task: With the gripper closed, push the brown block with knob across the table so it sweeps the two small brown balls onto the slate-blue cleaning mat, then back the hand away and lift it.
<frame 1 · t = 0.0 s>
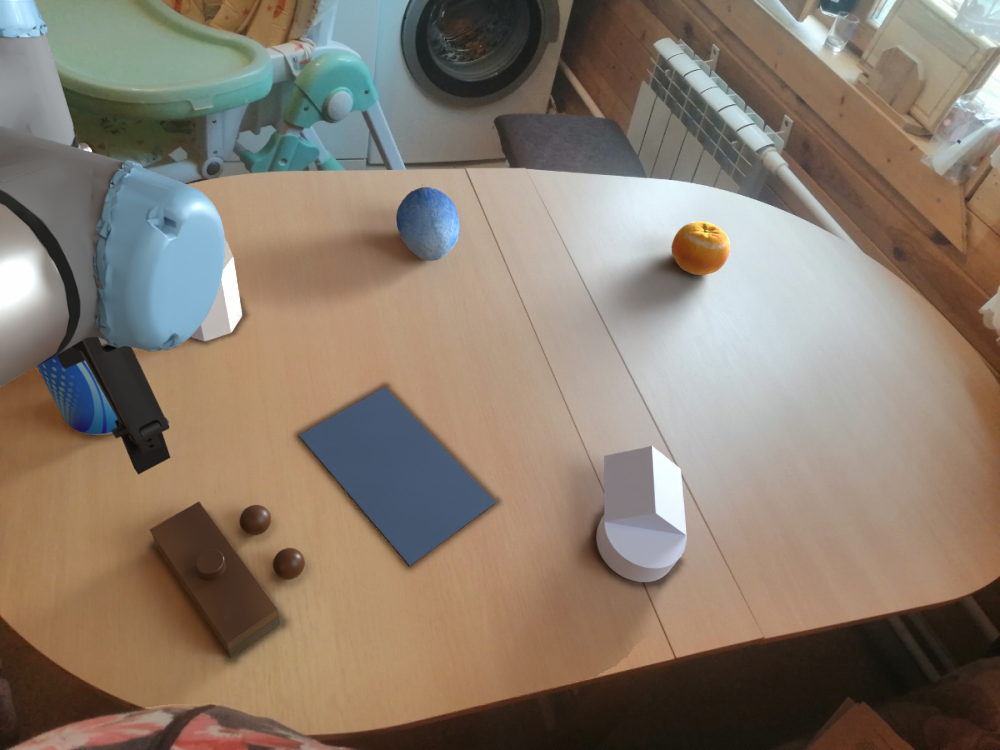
hand: (114, 409, 62), 15 cm above the table, tool pointing down, fingers open, 13 cm apart
ball a: (288, 563, 70), point 1 cm above the table
mat: (396, 469, 81), on the table
brown block with knob: (217, 584, 69), on the table
mug: (191, 316, 90), on the table
egg: (424, 240, 107), on the table
ball b: (255, 520, 72), point 1 cm above the table
wedge on round base: (635, 527, 81), on the table
fruit: (692, 265, 113), on the table
beer can: (108, 411, 80), on the table
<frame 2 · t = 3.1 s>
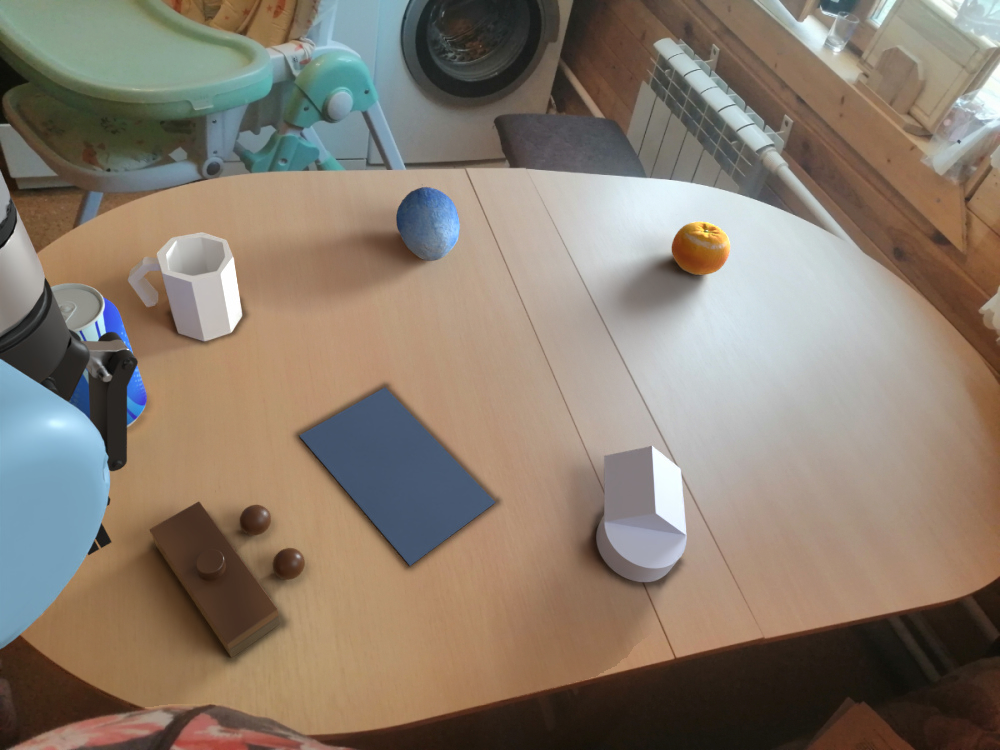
hand: (91, 534, 52), 18 cm above the table, tool pointing down, fingers closed
nothing on the table moved.
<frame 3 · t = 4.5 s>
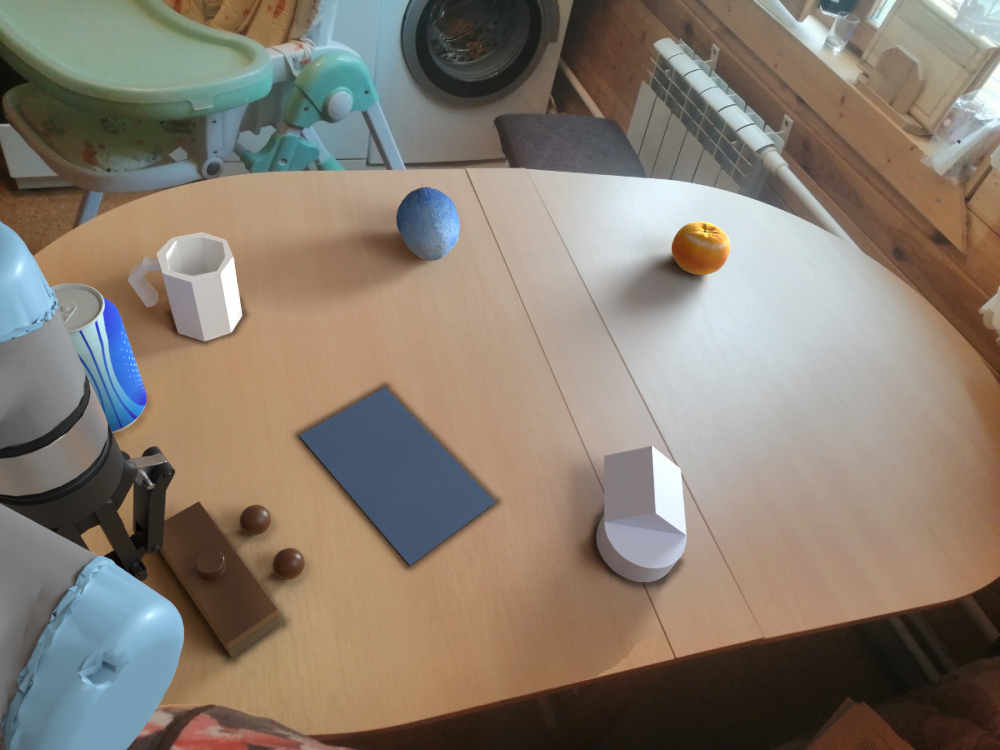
hand: (131, 600, 61), 6 cm above the table, tool pointing down, fingers closed
nothing on the table moved.
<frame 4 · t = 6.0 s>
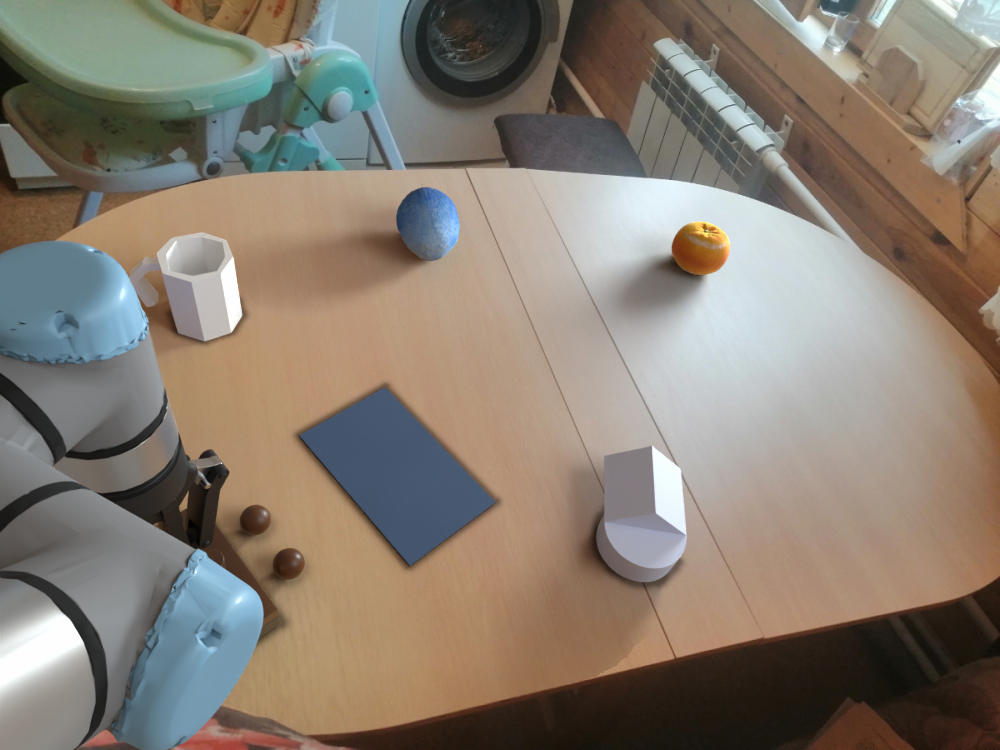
hand: (180, 593, 66), 3 cm above the table, tool pointing down, fingers closed
brown block with knob: (217, 584, 69), on the table, touching gripper
everything else where it was.
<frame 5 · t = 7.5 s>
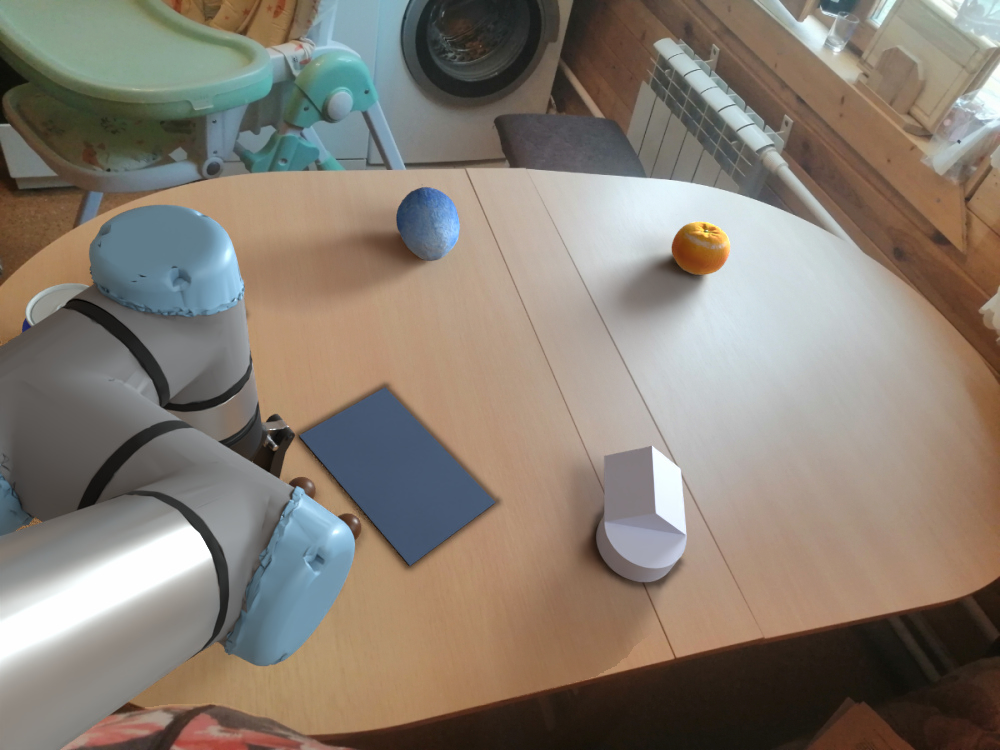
hand: (239, 555, 69), 3 cm above the table, tool pointing down, fingers closed
ball a: (346, 528, 73), point 1 cm above the table, tilted 112°
brown block with knob: (271, 549, 72), on the table, touching gripper
ball b: (300, 491, 75), point 1 cm above the table, tilted 158°
everything else where it was.
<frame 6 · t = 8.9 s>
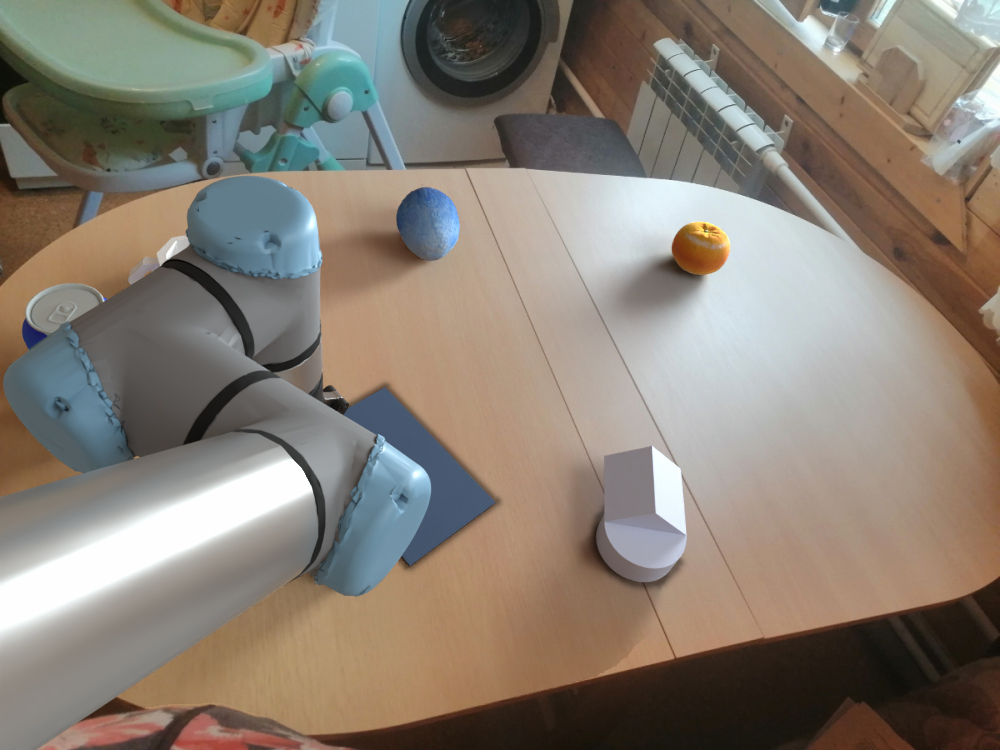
hand: (287, 525, 72), 2 cm above the table, tool pointing down, fingers closed
ball a: (368, 517, 75), point 1 cm above the table, tilted 27°, touching brown block with knob, mat
brown block with knob: (316, 521, 75), on the table, touching ball a, ball b, gripper
ball b: (329, 472, 77), point 1 cm above the table, tilted 27°, touching brown block with knob, mat
everything else where it was.
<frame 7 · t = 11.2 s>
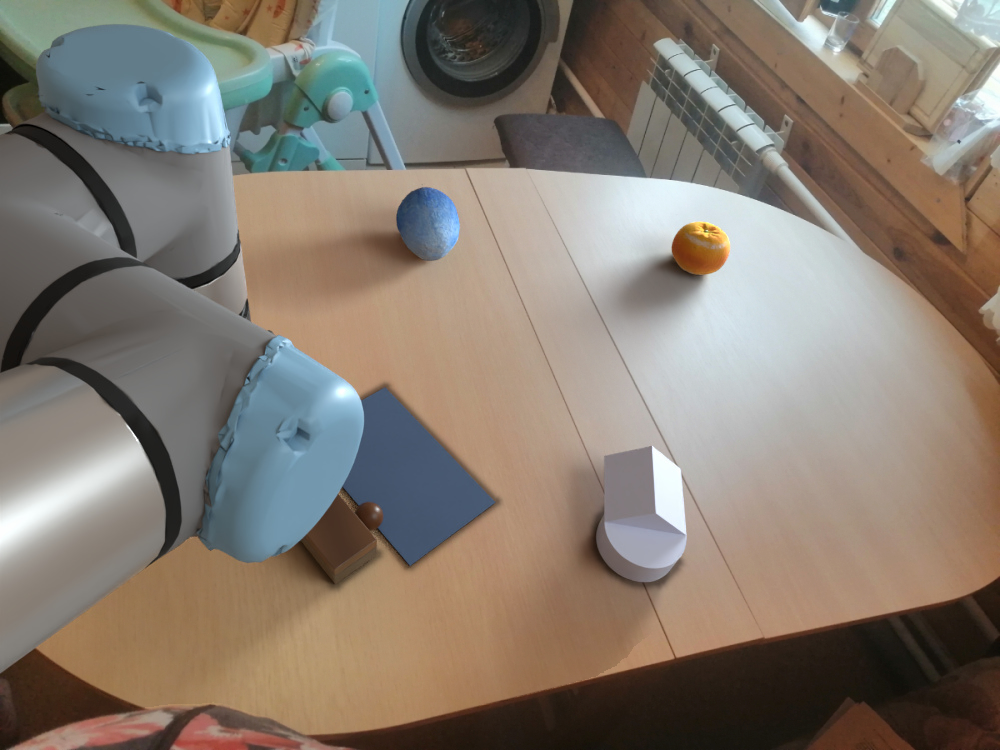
hand: (227, 503, 61), 13 cm above the table, tool pointing down, fingers closed
ball a: (368, 516, 75), point 2 cm above the table, tilted 26°, touching brown block with knob, mat
brown block with knob: (316, 520, 75), on the table, touching ball a, ball b
ball b: (330, 471, 77), point 2 cm above the table, tilted 25°, touching brown block with knob, mat
everything else where it was.
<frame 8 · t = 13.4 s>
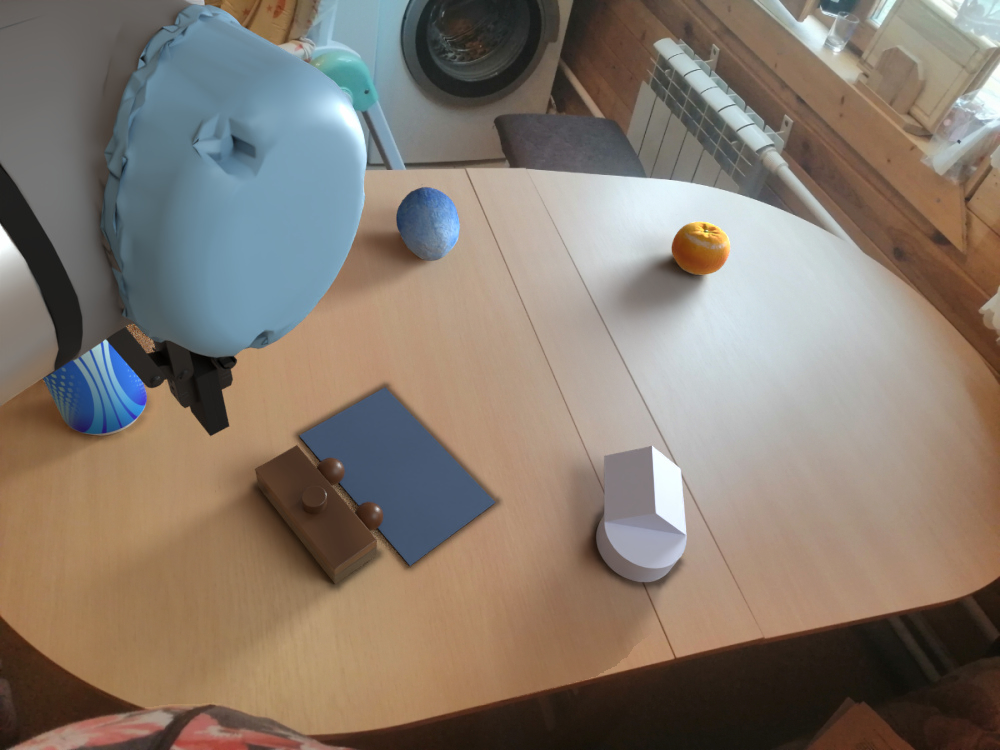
hand: (210, 418, 52), 24 cm above the table, tool pointing down, fingers closed
nothing on the table moved.
at the end: ball a inside the target area on the mat (7.4 cm from its centre), point 1.5 cm above the mat's base; ball b inside the target area on the mat (7.2 cm from its centre), point 1.5 cm above the mat's base; brown block with knob moved 11.1 cm from its start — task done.
